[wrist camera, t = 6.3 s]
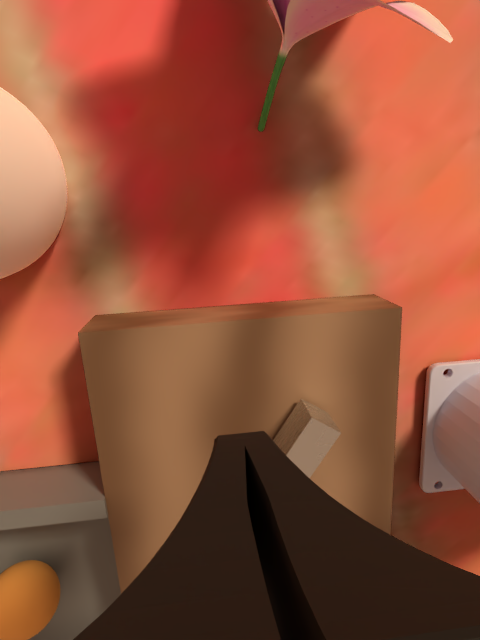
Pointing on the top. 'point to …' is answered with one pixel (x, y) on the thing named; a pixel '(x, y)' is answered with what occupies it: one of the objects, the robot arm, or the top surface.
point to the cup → (27, 187)
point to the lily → (322, 11)
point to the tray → (62, 539)
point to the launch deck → (236, 402)
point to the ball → (27, 599)
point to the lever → (307, 436)
